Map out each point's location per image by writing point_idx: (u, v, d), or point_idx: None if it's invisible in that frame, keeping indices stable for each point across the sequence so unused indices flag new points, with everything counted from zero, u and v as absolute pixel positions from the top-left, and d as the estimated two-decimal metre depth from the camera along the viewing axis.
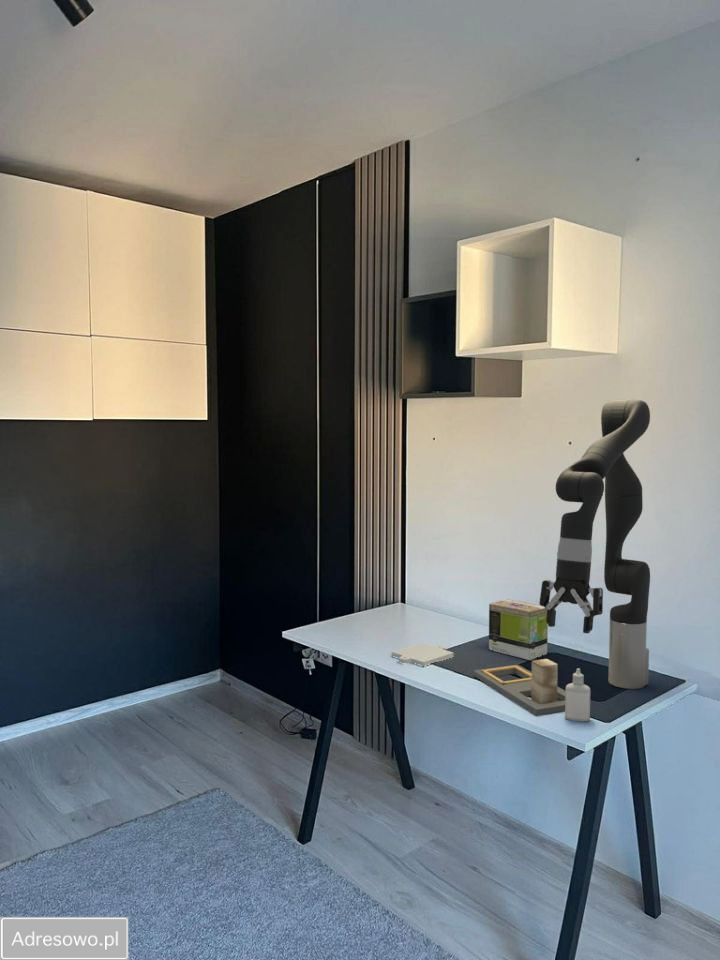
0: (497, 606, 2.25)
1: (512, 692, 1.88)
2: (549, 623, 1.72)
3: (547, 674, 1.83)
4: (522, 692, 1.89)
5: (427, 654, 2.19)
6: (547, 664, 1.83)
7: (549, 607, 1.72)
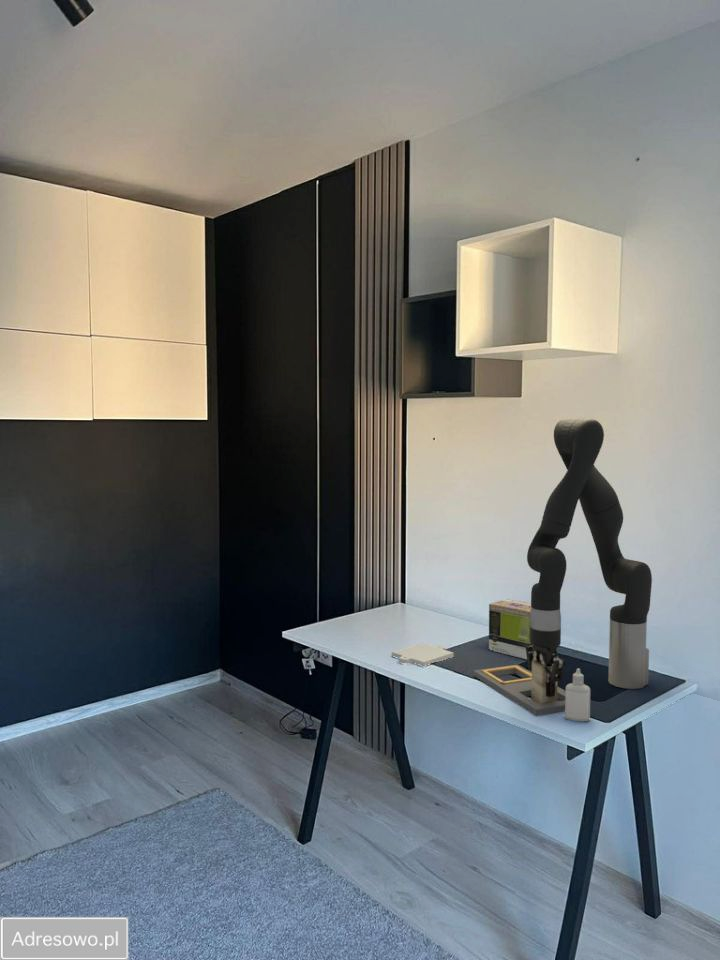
0: (497, 606, 2.25)
1: (512, 692, 1.88)
2: None
3: None
4: (522, 692, 1.89)
5: (427, 654, 2.19)
6: None
7: None
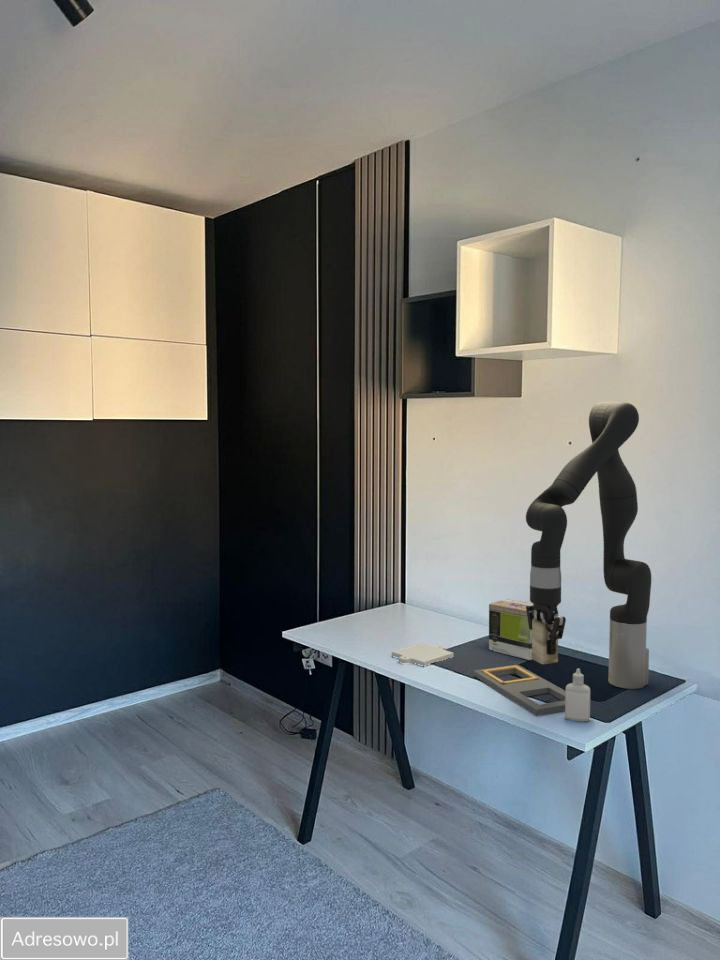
0: (497, 606, 2.25)
1: (512, 692, 1.88)
2: None
3: None
4: (522, 692, 1.89)
5: (427, 654, 2.19)
6: None
7: None
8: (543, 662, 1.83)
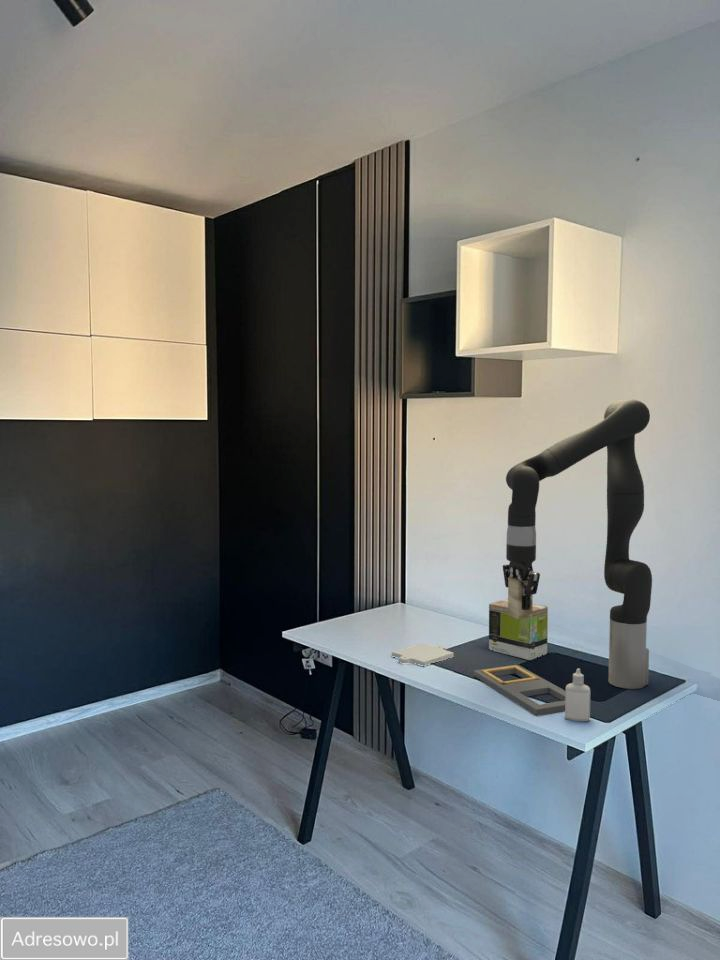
0: (497, 606, 2.25)
1: (512, 692, 1.88)
2: None
3: None
4: (522, 692, 1.89)
5: (427, 654, 2.19)
6: None
7: None
8: (518, 617, 1.92)
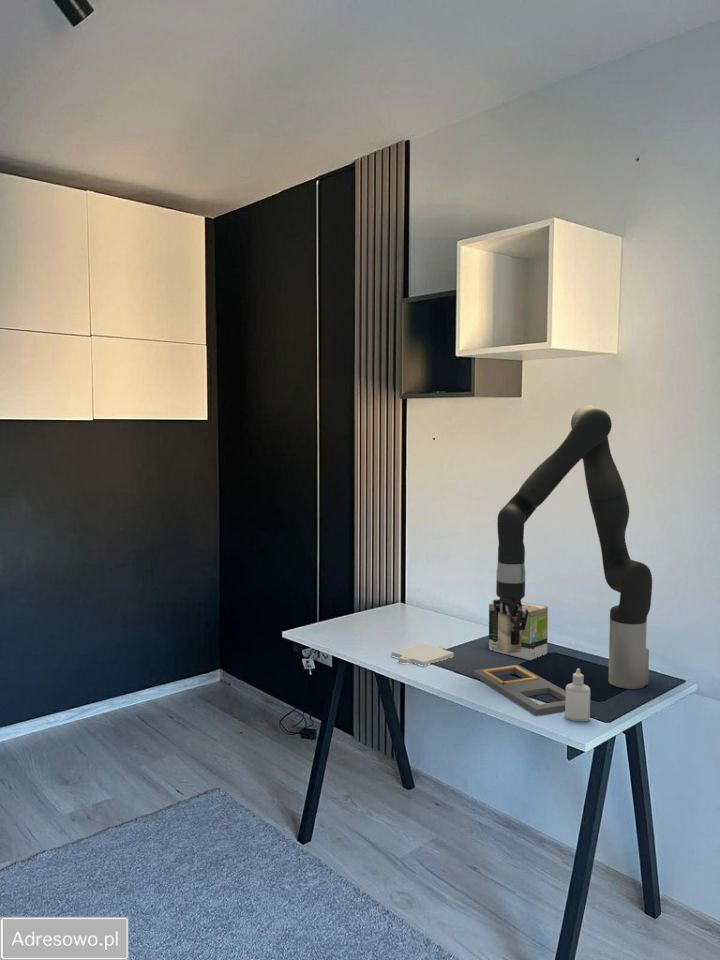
0: None
1: (512, 692, 1.88)
2: None
3: None
4: (522, 692, 1.89)
5: (428, 654, 2.19)
6: None
7: None
8: (507, 651, 1.97)
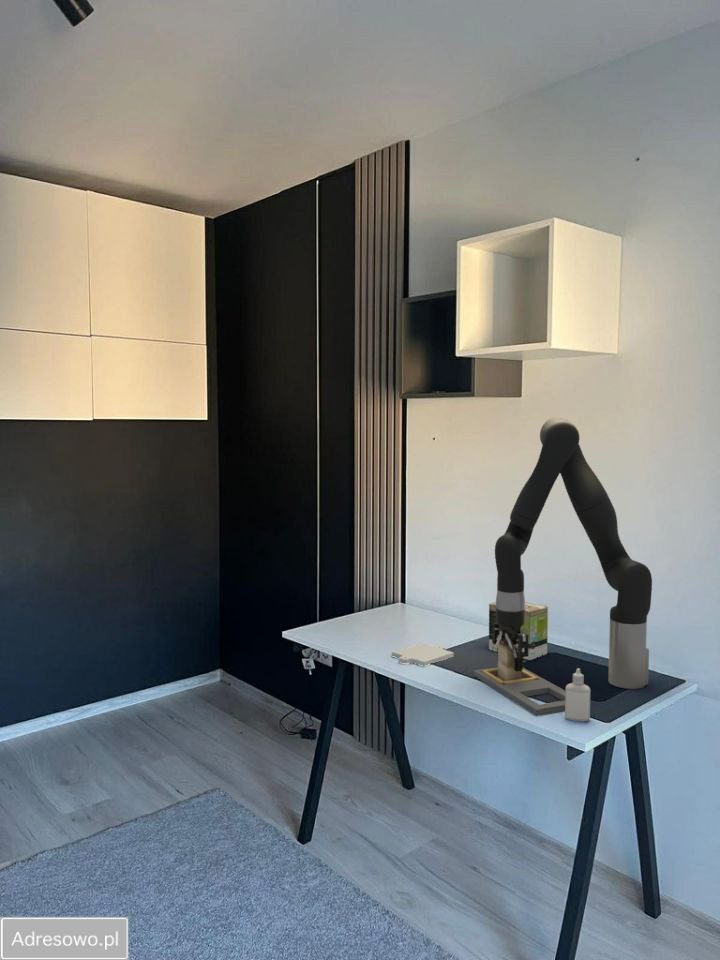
0: None
1: (512, 692, 1.88)
2: (497, 659, 2.04)
3: (512, 655, 1.98)
4: (522, 692, 1.89)
5: (428, 654, 2.19)
6: None
7: (497, 646, 2.04)
8: None
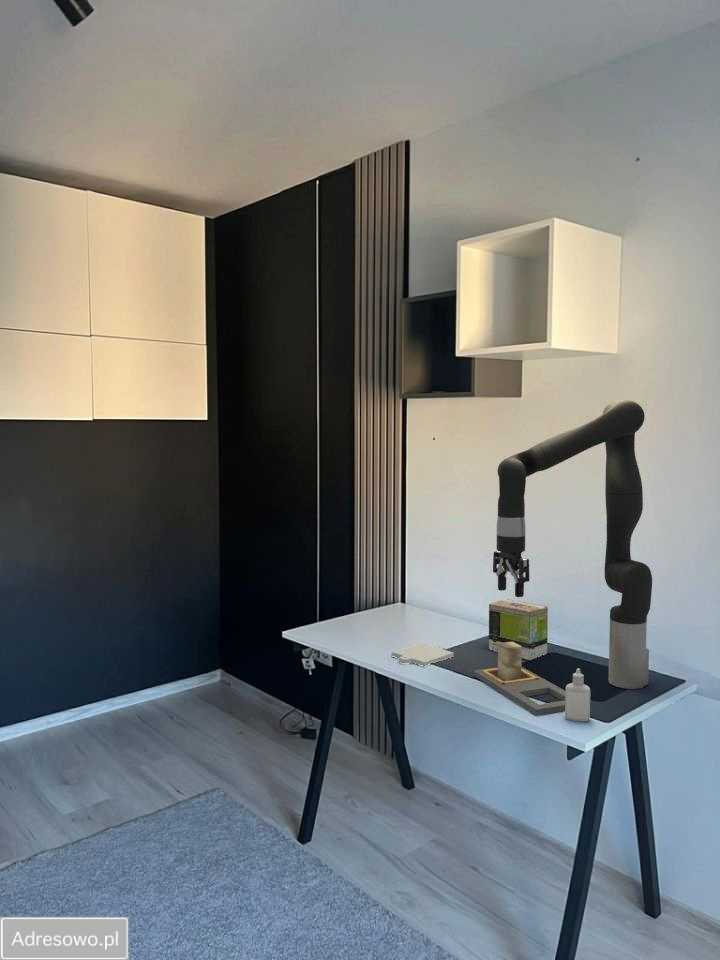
0: (497, 606, 2.25)
1: (512, 692, 1.88)
2: (498, 587, 2.03)
3: (512, 655, 1.98)
4: (522, 692, 1.89)
5: (428, 654, 2.19)
6: (511, 646, 1.98)
7: (497, 574, 2.03)
8: None
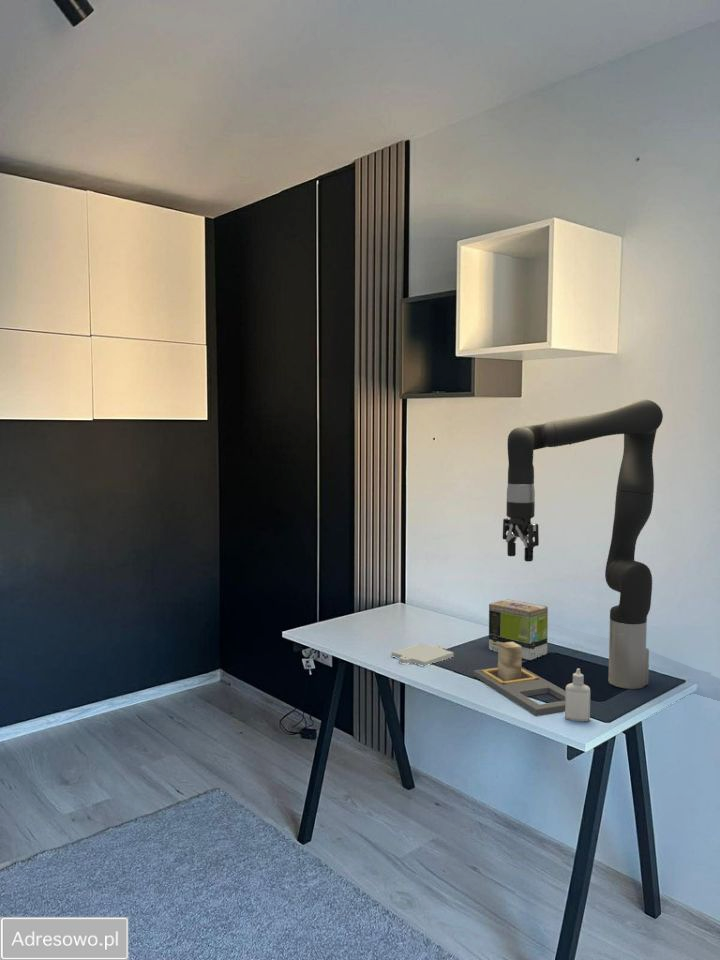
0: (497, 606, 2.25)
1: (512, 692, 1.88)
2: (508, 553, 2.09)
3: (512, 655, 1.98)
4: (522, 692, 1.89)
5: (428, 654, 2.19)
6: (511, 646, 1.98)
7: (507, 540, 2.09)
8: None
